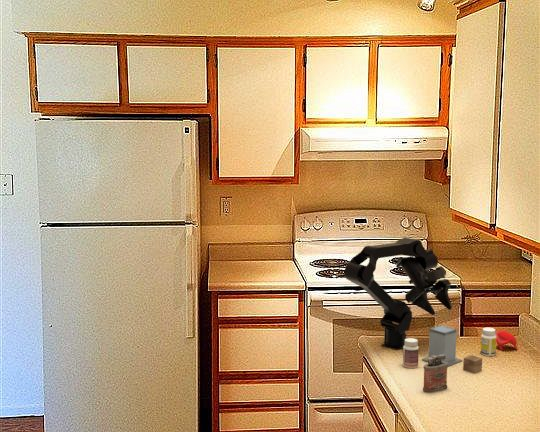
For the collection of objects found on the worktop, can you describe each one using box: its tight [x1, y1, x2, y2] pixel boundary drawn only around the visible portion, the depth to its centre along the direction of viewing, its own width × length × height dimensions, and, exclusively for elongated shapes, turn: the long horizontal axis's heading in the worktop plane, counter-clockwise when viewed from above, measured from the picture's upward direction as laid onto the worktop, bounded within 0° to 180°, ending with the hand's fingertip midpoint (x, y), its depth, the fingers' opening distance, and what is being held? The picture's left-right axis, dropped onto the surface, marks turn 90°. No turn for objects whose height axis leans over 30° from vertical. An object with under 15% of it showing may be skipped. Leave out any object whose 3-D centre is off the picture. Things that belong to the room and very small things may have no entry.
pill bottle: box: [402, 337, 420, 369], centre depth 219 cm, size 5×5×8 cm
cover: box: [428, 324, 458, 363], centre depth 223 cm, size 6×6×10 cm
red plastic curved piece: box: [495, 330, 518, 351], centre depth 235 cm, size 8×6×6 cm
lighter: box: [422, 354, 448, 394], centre depth 201 cm, size 8×3×10 cm, turn 117°
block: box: [462, 354, 483, 374], centre depth 216 cm, size 4×4×4 cm
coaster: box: [421, 355, 463, 368], centre depth 224 cm, size 9×9×1 cm
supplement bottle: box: [480, 327, 497, 357], centre depth 230 cm, size 5×5×8 cm
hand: (442, 311), depth 231 cm, fingers open, 9 cm apart
